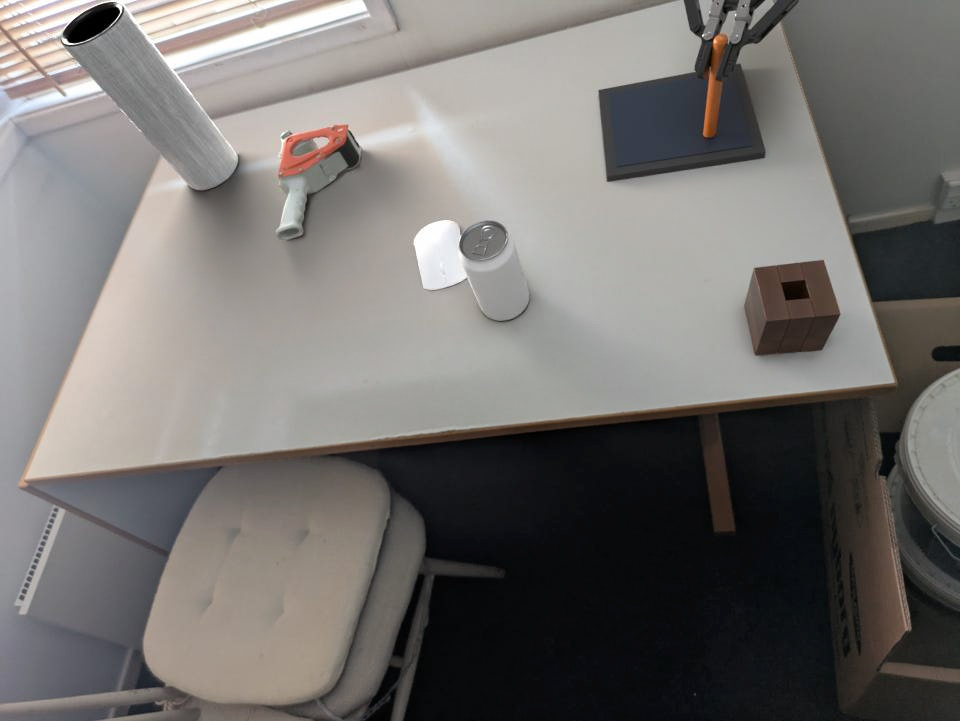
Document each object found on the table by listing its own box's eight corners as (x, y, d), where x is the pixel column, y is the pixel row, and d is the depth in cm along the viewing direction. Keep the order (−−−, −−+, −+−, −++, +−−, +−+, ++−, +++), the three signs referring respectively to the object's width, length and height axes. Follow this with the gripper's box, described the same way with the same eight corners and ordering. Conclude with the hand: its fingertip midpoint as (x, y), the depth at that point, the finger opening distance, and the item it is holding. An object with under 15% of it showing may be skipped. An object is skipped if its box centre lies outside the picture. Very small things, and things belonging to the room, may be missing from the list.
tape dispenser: (294, 255, 91) (390, 171, 92) (274, 234, 86) (377, 147, 88) (243, 199, 99) (333, 123, 101) (222, 178, 94) (317, 99, 96)
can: (537, 285, 75) (520, 221, 65) (519, 327, 72) (499, 267, 62) (491, 276, 77) (467, 213, 67) (472, 317, 75) (445, 258, 65)
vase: (209, 198, 100) (80, 52, 77) (177, 181, 105) (47, 38, 82) (249, 158, 103) (136, 6, 80) (217, 143, 107) (101, -5, 85)
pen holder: (807, 298, 65) (823, 259, 59) (822, 350, 62) (841, 314, 56) (743, 305, 67) (753, 267, 61) (755, 355, 63) (766, 321, 58)
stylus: (714, 128, 79) (727, 29, 67) (716, 137, 78) (730, 37, 66) (702, 130, 79) (712, 32, 67) (704, 139, 78) (714, 40, 66)
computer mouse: (423, 294, 79) (417, 284, 77) (413, 230, 85) (407, 219, 83) (471, 280, 78) (467, 269, 76) (457, 216, 84) (453, 204, 82)
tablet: (739, 69, 85) (740, 62, 84) (764, 157, 76) (766, 151, 75) (598, 95, 89) (598, 89, 88) (607, 181, 81) (606, 175, 80)
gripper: (695, -113, 63) (646, 65, 69) (834, -111, 57) (766, 84, 64) (710, -86, 69) (663, 75, 76) (837, -81, 63) (774, 93, 70)
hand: (710, 78), depth 70 cm, fingers closed on stylus, 1 cm apart
